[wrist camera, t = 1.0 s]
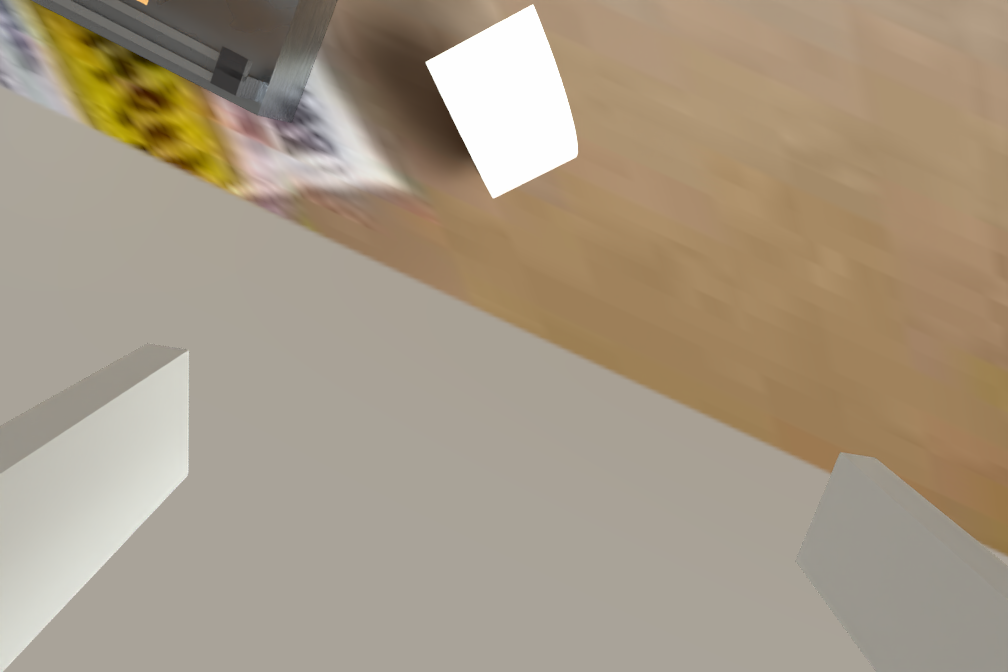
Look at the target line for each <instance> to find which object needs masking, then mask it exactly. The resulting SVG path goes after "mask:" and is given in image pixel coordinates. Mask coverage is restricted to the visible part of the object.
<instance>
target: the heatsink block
mask: <svg viewBox="0 0 1008 672" xmlns="http://www.w3.org/2000/svg"><path fill="white" fill-rule="evenodd" d="M32 1H34V2H36V3H38V4H39V5H41V6H43V7H45V8H47V9H49V10H51V11H53V12H55V13H57V14H59V15H61V16H63V17H65V18H67V19H69V20H71V21H73V22H75V23H77V24H79V25H81V26H83V27H85V28H87V29H89V30H91V31H93V32H95V33H97V34H99V35H101V36H103V37H104V38H106V39H108V40H110V41H112V42H114V43H116V44H118V45H120V46H122V47H124V48H126V49H128V50H130V51H132V52H134V53H136V54H138V55H140V56H142V57H144V58H146V59H148V60H150V61H152V62H154V63H156V64H158V65H160V66H162V67H164V68H166V69H168V70H169V71H171V72H173V73H175V74H177V75H179V76H181V77H183V78H185V79H187V80H189V81H191V82H193V83H195V84H197V85H199V86H201V87H203V88H205V89H207V90H209V91H211V92H213V93H215V94H217V95H219V96H221V97H223V98H225V99H227V100H229V101H231V102H233V103H234V104H236V105H238V106H240V107H242V108H244V109H246V110H248V111H250V112H252V113H254V114H256V115H259V116H263V117H268V118H272V119H277V120H282V121H286V122H292V120H293V117H294V114H295V112H296V109H297V106H298V104H299V101H300V99H301V96H302V93H303V91H304V88H305V85H306V83H307V80H308V77H309V75H310V72H311V69H312V67H313V64H314V61H315V59H316V56H317V53H318V51H319V48H320V45H321V43H322V40H323V37H324V35H325V32H326V30H327V27H328V24H329V22H330V19H331V16H332V14H333V11H334V8H335V6H336V3H337V0H148V3H147V5H145V4H143V3H141V2H139V1H137V0H32Z"/></svg>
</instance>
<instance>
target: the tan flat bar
mask: <svg viewBox="0 0 1008 672" xmlns="http://www.w3.org/2000/svg"><path fill="white" fill-rule="evenodd" d="M137 1H139V2H141V3H143V4H145V5H147V3H148V0H137Z"/></svg>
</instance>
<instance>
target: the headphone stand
mask: <svg viewBox="0 0 1008 672" xmlns="http://www.w3.org/2000/svg"><path fill="white" fill-rule="evenodd" d="M425 63H426V65H427V67H428V69H429V71H430V73H431V75H432V77H433V79H434V81H435V83H436V86H437V88H438V90H439V92H440V94H441V96H442V98H443V100H444V102H445V104H446V106H447V108H448V110H449V112H450V114H451V117H452V119H453V121H454V123H455V125H456V127H457V129H458V131H459V133H460V135H461V137H462V139H463V141H464V143H465V145H466V147H467V149H468V151H469V153H470V155H471V157H472V159H473V161H474V163H475V165H476V167H477V169H478V171H479V173H480V175H481V177H482V179H483V181H484V183H485V185H486V187H487V188H488V190H489V192H490V194H491V196H492V197H493V199H494V198H496V197H498V196H500V195H502V194H504V193H506V192H508V191H510V190H512V189H514V188H516V187H518V186H520V185H522V184H524V183H526V182H528V181H530V180H532V179H534V178H536V177H538V176H540V175H542V174H544V173H546V172H548V171H550V170H552V169H554V168H556V167H558V166H560V165H562V164H564V163H566V162H568V161H570V160H572V159H574V158H576V157H577V153H578V145H577V137H576V132H575V127H574V123H573V119H572V115H571V111H570V107H569V104H568V100H567V97H566V94H565V90H564V87H563V84H562V81H561V78H560V75H559V72H558V69H557V66H556V63H555V60H554V57H553V55H552V52H551V49H550V46H549V44H548V41H547V38H546V36H545V33H544V30H543V28H542V25H541V23H540V20H539V18H538V15H537V13H536V10H535V8H534V5H531V6H529V7H527V8H525V9H523V10H522V11H520V12H518V13H516V14H514V15H512V16H510V17H509V18H507V19H505V20H503V21H501V22H499V23H497V24H495V25H494V26H492V27H490V28H488V29H486V30H484V31H482V32H481V33H479V34H477V35H475V36H473V37H471V38H469V39H468V40H466V41H464V42H462V43H460V44H458V45H456V46H454V47H453V48H451V49H449V50H447V51H445V52H443V53H441V54H440V55H438V56H436V57H434V58H432V59H430V60H428V61H426V62H425Z"/></svg>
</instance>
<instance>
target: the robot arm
mask: <svg viewBox="0 0 1008 672" xmlns="http://www.w3.org/2000/svg"><path fill="white" fill-rule="evenodd" d="M188 416H189V350H186V349H180V348H173V347H167V346H161V345H155V344H148V343H147V344H145V345H144V346H142V347H140V348H138V349H136V350H135V351H133V352H131V353H129V354H128V355H126V356H124V357H122V358H120V359H119V360H117V361H115V362H113V363H111V364H110V365H108V366H106V367H104V368H102V369H101V370H99V371H97V372H95V373H94V374H92V375H90V376H88V377H86V378H85V379H83V380H81V381H79V382H78V383H76V384H74V385H72V386H70V387H69V388H67V389H65V390H64V391H62V392H60V393H58V394H56V395H54V396H53V397H51V398H49V399H47V400H45V401H44V402H42V403H40V404H38V405H37V406H35V407H33V408H31V409H29V410H28V411H26V412H24V413H22V414H20V415H19V416H17V417H15V418H13V419H11V420H10V421H8V422H6V423H4V424H3V425H1V426H0V672H3V671H4V670H5V668H7V667H8V666H9V665H10V663H11V662H12V661H13V660H14V659H15V658H16V657H17V656H18V655H19V654H20V653H21V652H22V651H23V649H25V648H26V646H27V645H28V644H29V643H30V642H31V641H32V640H33V639H34V638H35V637H36V636H37V635H38V634H39V633H40V632H41V630H42V629H43V628H44V627H45V626H46V625H47V624H48V623H49V622H50V621H51V620H52V619H53V618H54V617H55V616H56V615H57V614H58V612H59V611H60V610H61V609H62V608H63V607H64V606H65V605H66V604H67V603H68V602H69V601H70V600H71V598H72V597H74V595H75V594H76V593H77V592H78V591H79V590H80V589H81V588H82V587H83V586H84V585H85V584H86V583H87V582H88V580H89V579H90V578H91V577H92V576H93V575H94V574H95V573H96V572H97V571H98V570H99V569H100V568H101V567H102V566H103V565H104V564H105V563H106V561H107V560H108V559H109V558H110V557H111V556H112V555H113V554H114V553H115V552H116V551H117V550H118V549H119V548H120V546H122V544H123V543H124V542H125V541H126V540H127V539H128V538H129V537H130V536H131V535H132V534H133V533H134V532H135V530H137V529H138V527H139V526H140V525H141V524H142V523H143V522H144V521H145V520H146V519H147V518H148V517H149V516H150V515H151V513H153V512H154V510H155V509H156V508H157V507H158V506H159V505H160V504H161V503H162V502H163V501H164V500H165V499H166V498H167V496H169V495H170V493H171V492H172V491H173V490H174V489H175V488H176V487H177V486H178V485H179V484H180V483H181V482H182V481H183V480H184V479H185V477H186V476H187V475H188V448H189V447H188V441H189V440H188V439H189V438H188V437H189V435H188V434H189V427H188V425H189V417H188ZM796 562H797V564H798V565H799V567H800V568H801V569H802V570H803V572H804V573H805V575H806V576H807V578H808V579H809V580H810V582H811V583H812V584H813V586H814V587H815V589H816V590H817V591H818V593H819V594H820V595H821V597H822V598H823V599H824V601H825V602H826V604H827V605H828V606H829V608H830V609H831V611H832V612H833V613H834V615H835V616H836V617H837V619H838V620H839V622H840V623H841V624H842V626H843V627H844V629H845V630H846V631H847V633H848V634H849V635H850V636H851V638H852V640H853V641H854V642H855V644H856V645H857V646H858V648H859V649H860V651H861V652H862V653H863V655H864V656H865V657H866V659H867V660H868V662H869V663H870V664H871V666H872V667H873V668H874V670H875V671H876V672H1008V566H1007V565H1006V564H1005V563H1003V562H1002V561H1001V560H1000V559H999V558H997V557H996V556H995V555H994V554H992V553H991V552H990V551H989V550H988V549H986V548H985V547H984V546H983V545H981V544H980V543H979V542H978V541H977V540H975V539H974V538H973V537H972V536H970V535H969V534H968V533H967V532H966V531H964V530H963V529H962V528H961V527H959V526H958V525H957V524H956V523H954V522H953V521H952V520H951V519H950V518H948V517H947V516H946V515H945V514H943V513H942V512H941V511H940V510H939V509H937V508H936V507H935V506H934V505H932V504H931V503H930V502H929V501H927V500H926V499H925V498H924V497H923V496H921V495H920V494H919V493H918V492H916V491H915V490H914V489H913V488H912V487H910V486H909V485H908V484H907V483H905V482H904V481H903V480H902V479H901V478H899V477H898V476H897V475H896V474H894V473H893V472H892V471H891V470H889V469H888V468H887V467H886V466H885V465H883V464H882V463H881V462H880V461H878V460H877V459H876V458H873V457H867V456H861V455H854V454H848V453H841V452H840V454H839V456H838V459H837V461H836V464H835V466H834V469H833V471H832V473H831V476H830V478H829V481H828V483H827V485H826V488H825V490H824V493H823V495H822V498H821V500H820V502H819V505H818V507H817V510H816V512H815V514H814V517H813V519H812V522H811V524H810V527H809V529H808V531H807V534H806V536H805V539H804V541H803V543H802V546H801V548H800V551H799V553H798V556H797V558H796Z"/></svg>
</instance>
